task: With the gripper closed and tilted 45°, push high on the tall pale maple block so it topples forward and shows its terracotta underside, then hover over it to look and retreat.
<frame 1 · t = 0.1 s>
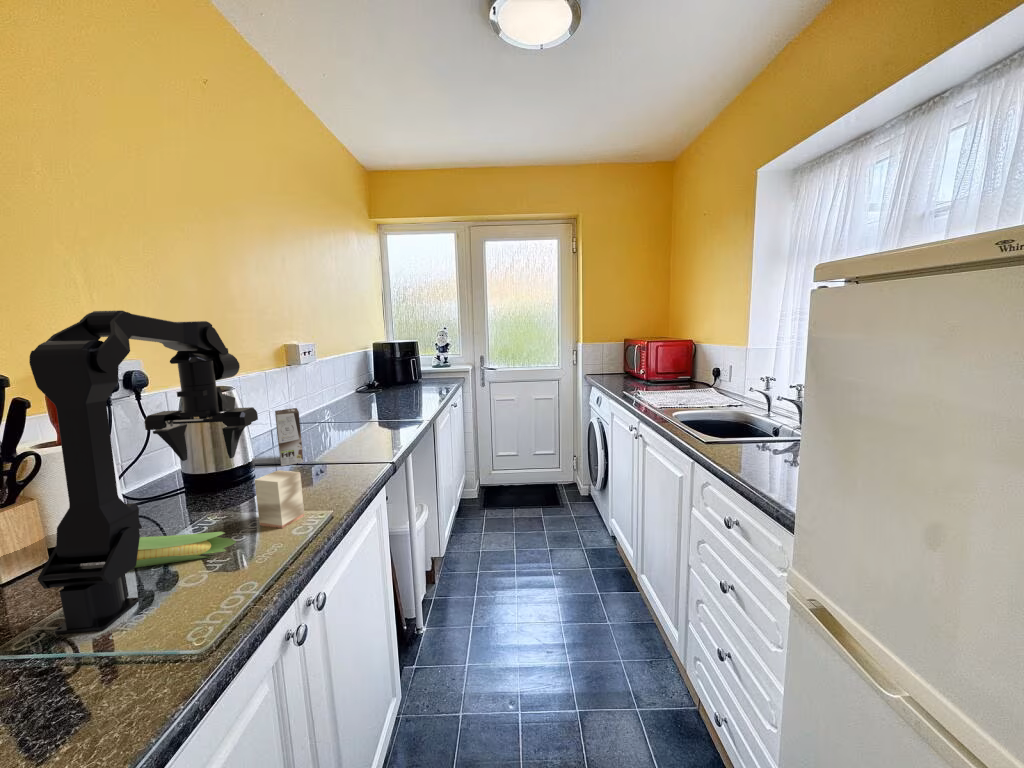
hand: (208, 459, 86), 15 cm above the counter, tool pointing down, fingers open, 9 cm apart
marked block: (282, 520, 90), on the counter
coffee box: (292, 461, 132), on the counter
edible corn: (171, 562, 76), on the counter
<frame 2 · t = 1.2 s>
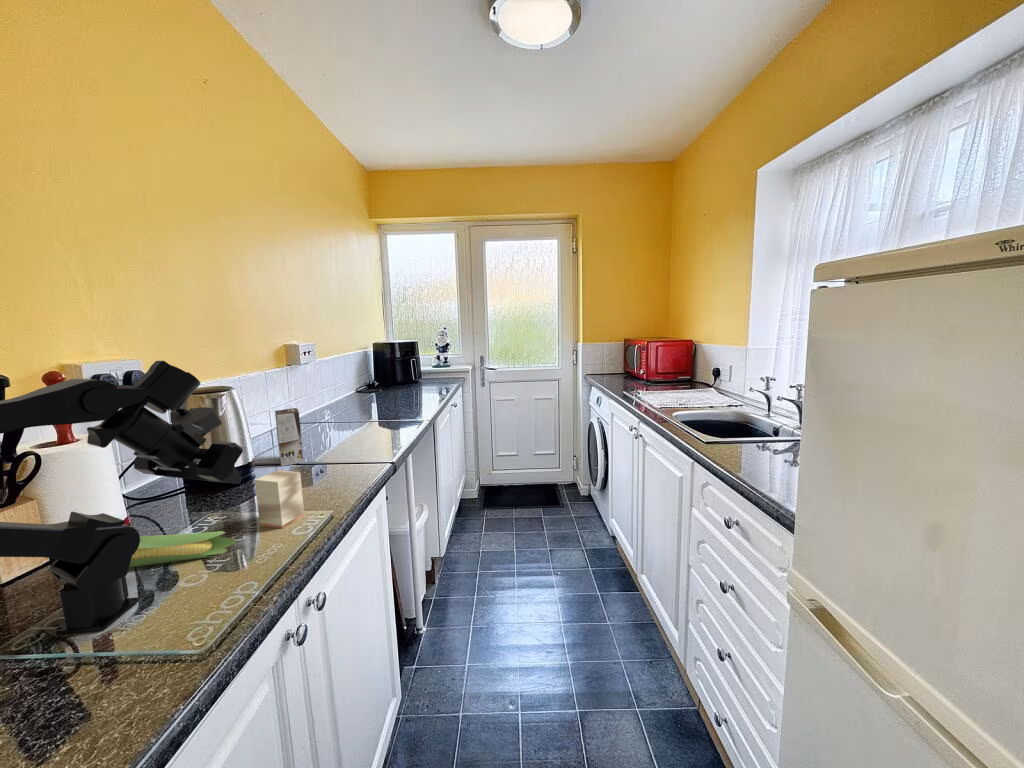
hand: (224, 479, 78), 13 cm above the counter, tool tilted 45°, fingers open, 7 cm apart
nothing on the counter moved.
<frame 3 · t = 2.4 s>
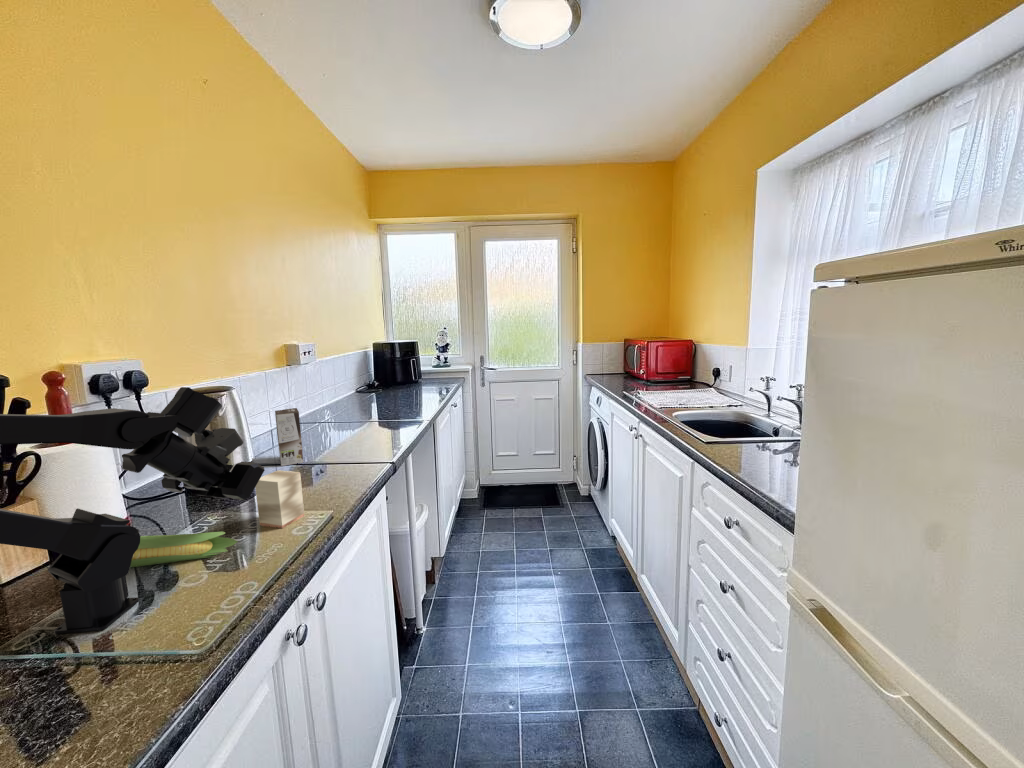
hand: (245, 495, 82), 9 cm above the counter, tool tilted 45°, fingers closed
nothing on the counter moved.
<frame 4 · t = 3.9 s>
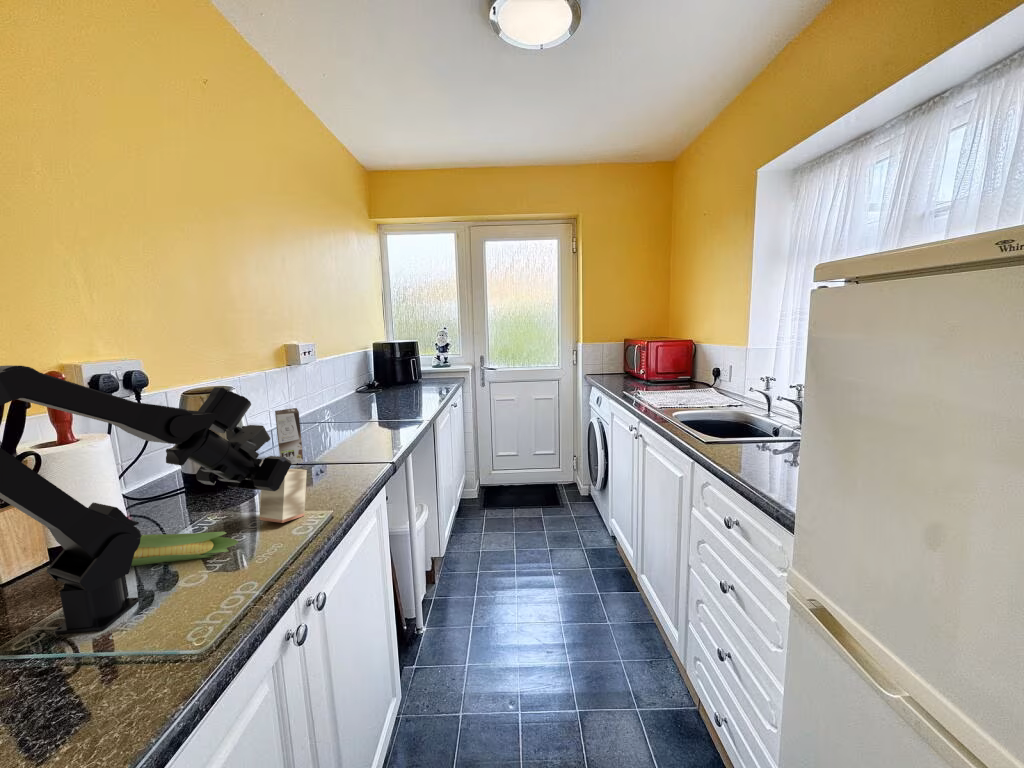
hand: (272, 487, 88), 8 cm above the counter, tool tilted 45°, fingers closed, pressing on marked block
marked block: (282, 517, 90), point 1 cm above the counter, tilted 11°, touching gripper
everything else where it was.
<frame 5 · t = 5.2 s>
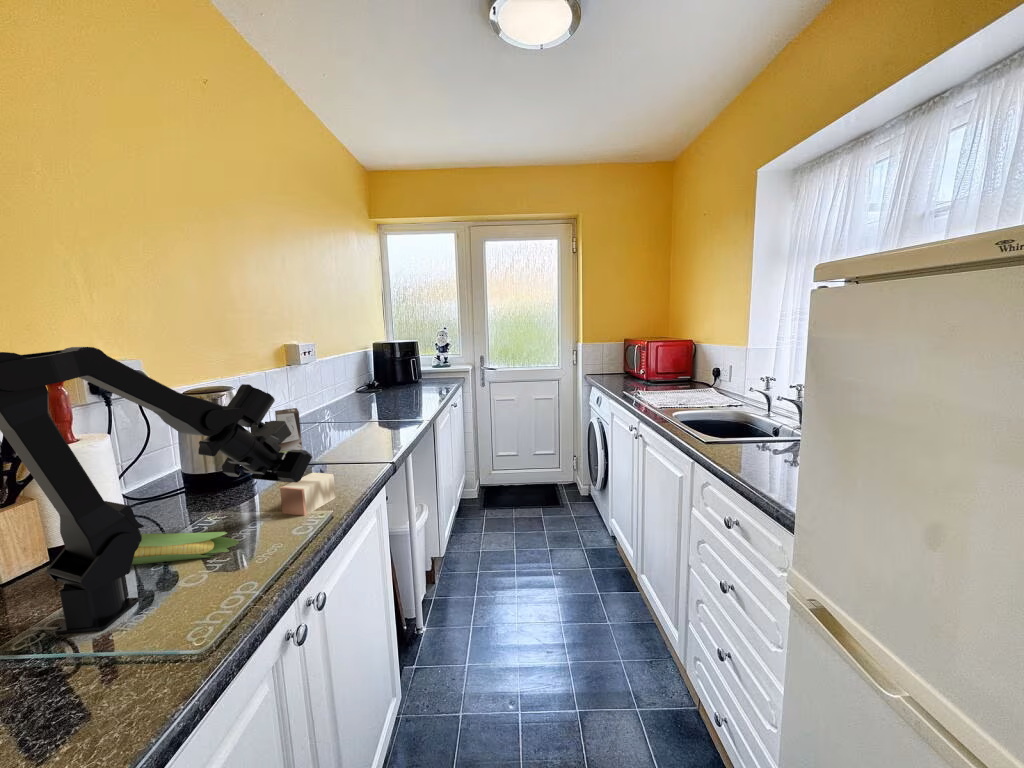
hand: (291, 480, 93), 8 cm above the counter, tool tilted 45°, fingers closed
marked block: (292, 501, 93), point 3 cm above the counter, tilted 90°
everything else where it was.
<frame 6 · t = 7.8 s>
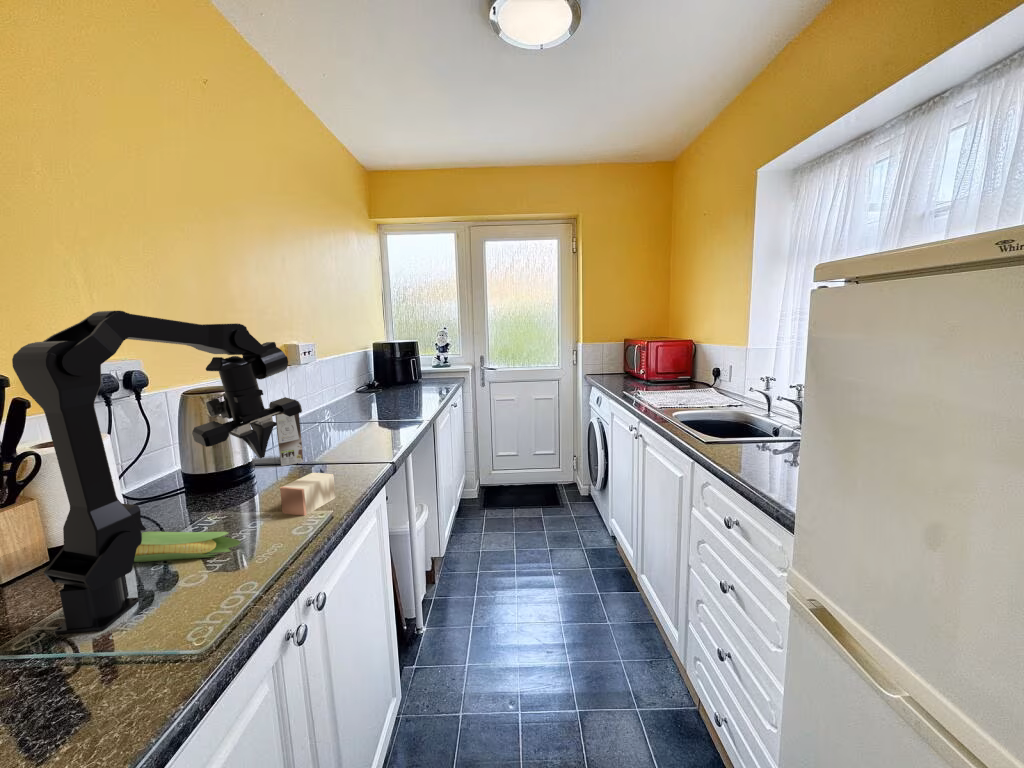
hand: (261, 457, 88), 14 cm above the counter, tool pointing down, fingers closed
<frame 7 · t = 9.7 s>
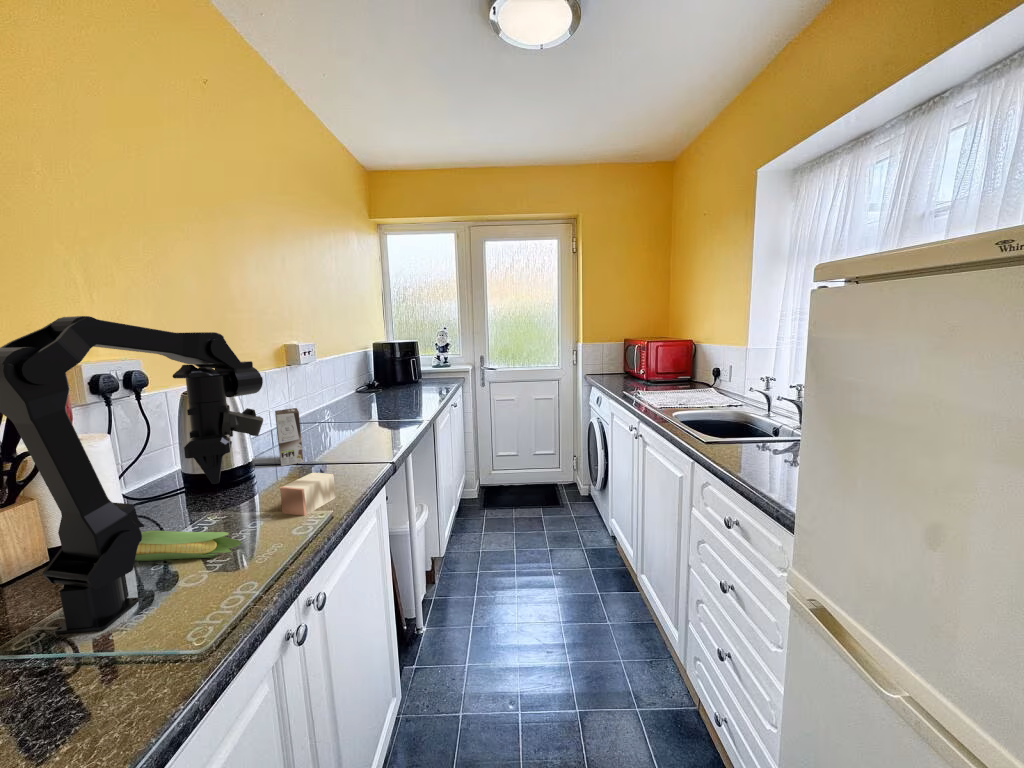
hand: (215, 483, 79), 12 cm above the counter, tool pointing down, fingers closed
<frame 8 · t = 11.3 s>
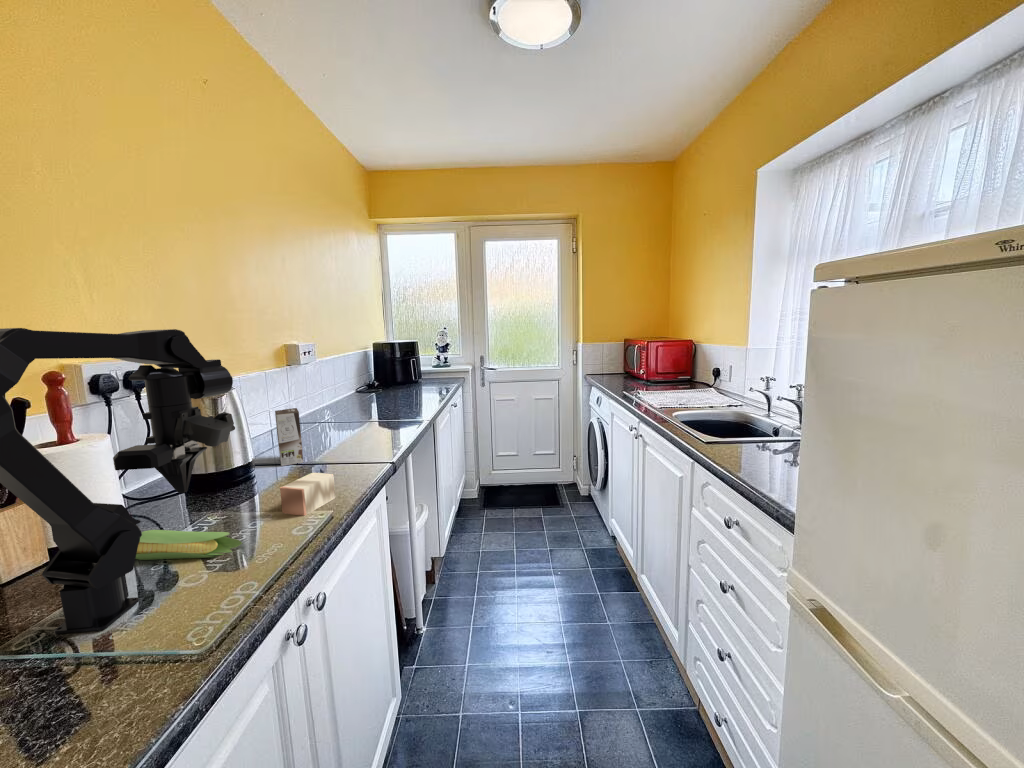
hand: (182, 492, 73), 13 cm above the counter, tool pointing down, fingers closed
at the end: marked block tilted 90°; marked block inside the target area (1.3 cm from its centre), point 2.9 cm above the counter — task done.
